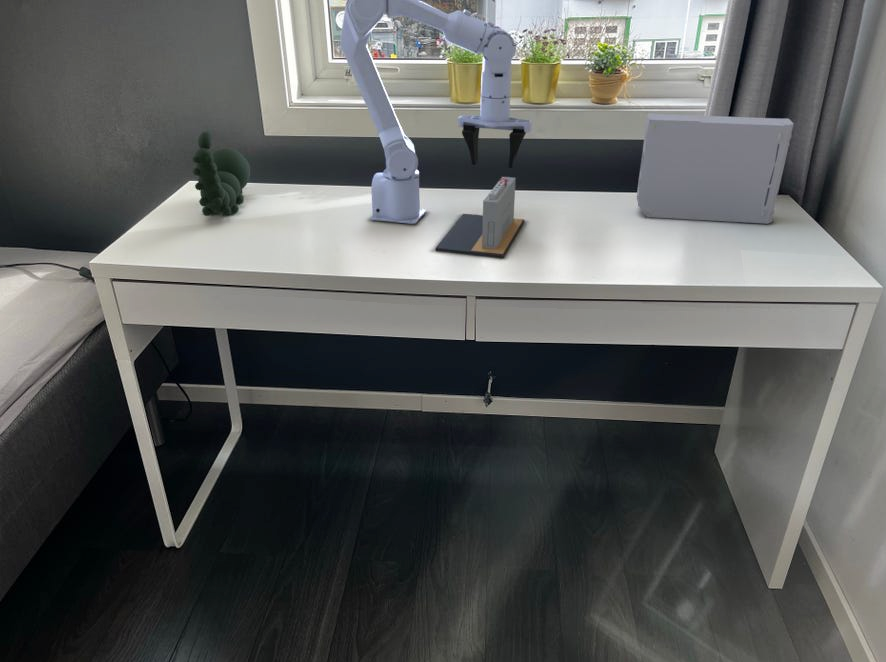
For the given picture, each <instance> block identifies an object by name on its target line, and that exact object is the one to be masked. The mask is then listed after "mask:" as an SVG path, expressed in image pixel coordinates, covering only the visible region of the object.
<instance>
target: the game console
mask: <svg viewBox="0 0 886 662" xmlns="http://www.w3.org/2000/svg"><path fill="white" fill-rule="evenodd" d="M793 128H794V122H793V121H792V120H791V119H790V118H774V117H773V118H772V117H750V116H749V117H747V116H723V115H722V116H719V115H695V114H673V113H672V114H668V113H649V112H647V115H646V122H645V131H644V138H643V145H642V151H641V161H640V167H639V176H638V184H637V191H636V202H637V206H638V208H639V209H640V210H641V211H642V212H643V214H644V215H645V216H646V218H659V219H676V220H678V219H679V220H693V221H694V220H695V221H711V222H712V221H713V222H714V221H715V222H729V223H733V222H734V223H749V224H764V225H765V224H766V225H768V224H770V223H772V220H773V216H774V214H775V205H776V201H777V195H778V194H779V190H780V186H781V181H782V178H783V177H782V176H783V173H784V167H785V165H786V164H785V163H786V159H787V155H788V152H789V147H790V145H791V143H790V140H791V139H792V132H793Z"/></svg>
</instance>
